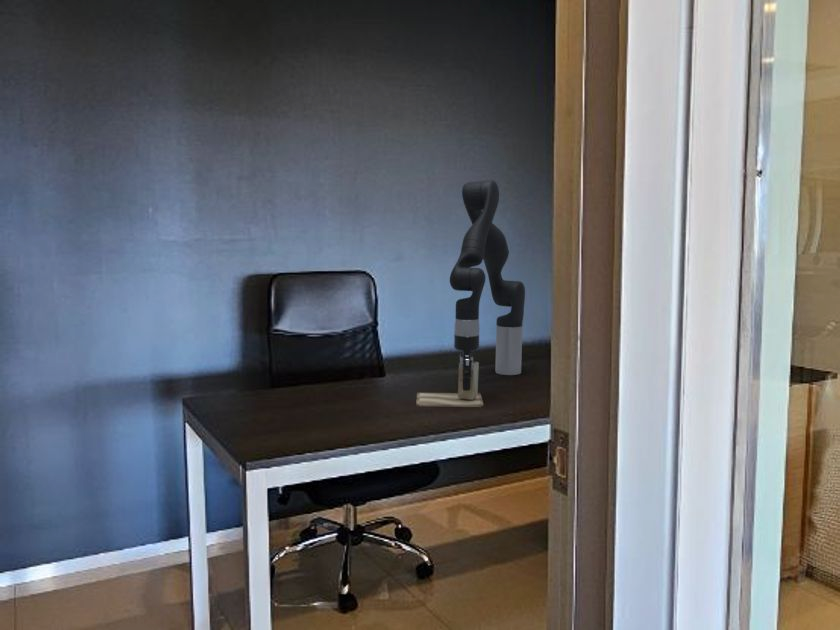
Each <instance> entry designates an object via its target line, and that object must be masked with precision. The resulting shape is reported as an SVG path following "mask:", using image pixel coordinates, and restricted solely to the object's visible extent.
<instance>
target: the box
mask: <svg viewBox="0 0 840 630" xmlns="http://www.w3.org/2000/svg"><path fill="white" fill-rule="evenodd" d="M471 365H472V370H471V375H472V377H471V378H470V390H469V391H464V390H463V377H462V375H463V371H462V370H461V362H458V380H457V381H458V382H457V383H458V384H457V385H458V386H457V393H458V398H464V399H470V400H473V399H474V398H476V397H477V393H479V392H478V390H479V369H480V368H479V367H480V366H479V365H480V362H478V361H474V360H473V362H472V364H471ZM465 374H469V371H465Z"/></svg>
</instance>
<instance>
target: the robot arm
mask: <svg viewBox="0 0 840 630" xmlns="http://www.w3.org/2000/svg"><path fill="white" fill-rule="evenodd" d="M461 197H462V201H463V204H464V208H465V210H466V212H467V215H468V217H469V219H470V222H471V226H470V227H469V228H468V230H467V231H466V233H465V234H464V237H463V239H462V245H461V249H460V254H459V257H458V259H457V260H456V262H455V265H454V267H453V268H452V270H451V272H450V276H449V284H450V287H451V288H452V289H453V290H455V291H458V292H460V291H461V292H463V291H464V292H471V295H470V296H468V297H464V298H459V299H457V300H456V302H455V320H454V321H455V322H454V333H453V338H454V344H453V347H454V349H455V350H458V351H460V353H459V361H460V362H461V370H462V371H463V375H462V377H463V390H464V391H469V390H470V378H471V377H472V375H471V370H472V365H471V364H472V362H473V361H474V355H473V353H471V352H472V351H477V350H479V348H480V317H479V315H480V314H479V313H480V302H481V297H482V293H483V290H484V287H485V283H486V278H488V282H489V287H490V291H491V296H492V299H493V302H494V303H495V304H496V305H497V306H499V307H509V308H510V311H509V312H508V313H507V314H503V315H501V316H497V318H496V325H495V327H496V331H495V332H496V333H495V334H496V335H495V369H494V370H495V371H494V372H495V374H497V375H502V376H516V375H520V374H521V373H522V360H523V359H522V355H523V354H522V352H523V350H522V349H523V347H522V346H523V322H524V321H523V320H524V312H525V310H524V309H525V301H526V299H525V298H526V289H525V284H524V283H523V282H522V281H520V280H507V279H505V280H504V279H503V276H502V271H503V269H504V267H505V265H506V264H507V261H508V258H509V254H510V253H509V252H510V251H509V246H508V243H507V240H506V236H505V233H504V232H502V230H501V229H500V228H499V227H497V226H496V225H495V223H493V221H494V218H495V214H496V211H497V208H498V205H499V202H500V189H499V186H498V184H497V182H496V181H495V180H492V179H490V180H488V179H486V180H479V181H478V180H477V181H474V180H473V181H468V182H466V183H464V184H463V186H462V191H461ZM482 263H484V266H485V270H486V273H487V277H486V274H485V271H484V270H483V269H482V268H481V267H477V266H480V265H481V264H482ZM460 362H459V363H460ZM465 371H469V374H465Z"/></svg>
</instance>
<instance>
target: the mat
mask: <svg viewBox="0 0 840 630" xmlns="http://www.w3.org/2000/svg"><path fill="white" fill-rule="evenodd" d="M415 403H416V404H415V405H416V406H415V407H439V408H440V407H444V408H447V407H448V408H449V407H450V408H453V407H454V408H457V407H458V408H484V401H483V397H482V394H481V393H480V392H478V393H477V397H476V398H474V399H473V400H470V399H464V398H458V392H417V393H416V402H415Z"/></svg>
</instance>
